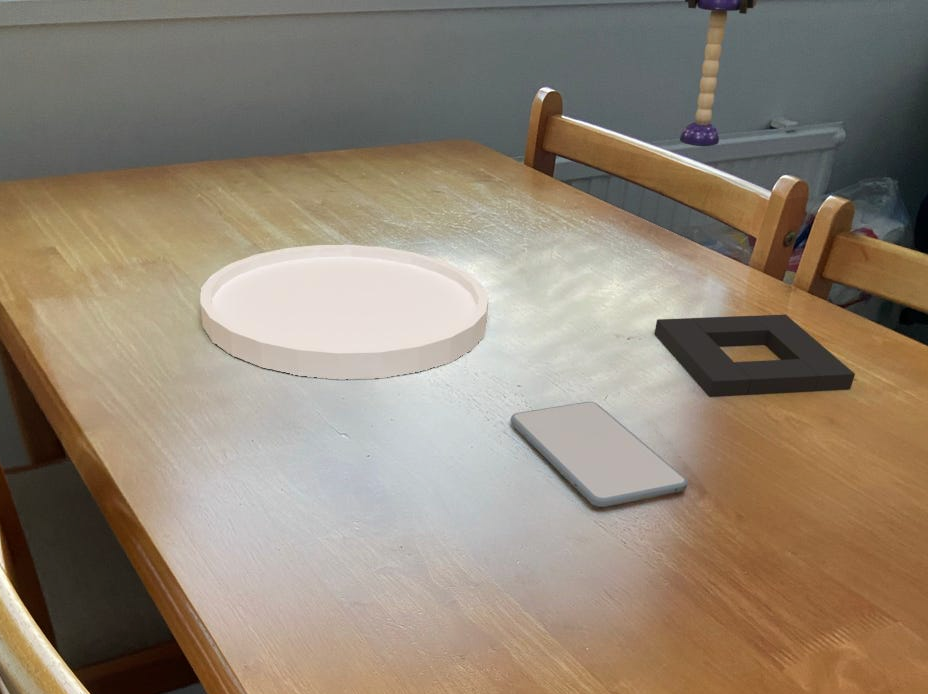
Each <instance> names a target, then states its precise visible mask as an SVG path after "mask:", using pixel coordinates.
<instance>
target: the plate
mask: <svg viewBox="0 0 928 694" xmlns="http://www.w3.org/2000/svg"><path fill="white" fill-rule="evenodd" d="M199 297H200V298H199V299H200V300H199V306H200V314H201V323H202V327H203V326H204V328H205V330H206V331H207V333H208V335H209V336H210V338H211V339H212V341H213V342H215V343H216V344H218V345H219V346H220V347H222V348H223V349H224V350H226V351H228V352H229V353H230V354H231V355H233V356H235V357H238V358H241V359H243V360H245V361H248V362H250V363H254V364H255V365H258V366H261V367H263V368H267V369H273V370H277V371H281V372H286V373H290V374H289V375H291V374H293V375H292V376H295V375H298V376H297V377H301V376H307V377H306V378H314V377H317V378H316V379H326V378H327V379H326V380H337V379H338V381H345V380H346V379H348V380H376V379H375V378H379V379H388V378H392V377H391V376H394V377H398V376H397V375H400V376H404V375H403V374H407V375H410V374H409V373H413V374H416V373H415V372H419V373H421V372H420V371H422V372H424V371H423V370H426V369H429V370H431V369H430V368H432V369H434V368H433V367H435V368H437V367H436V366H439V367H441V366H440V365H442V366H444V365H443V364H445V365H448V364H451V363H452V362H454V361H456V360H457V359H456V358H458V357H460V356H461V355H463V356H465V355H466V354H465V353H467V352H469V351H470V352H472V351H473V350H474V349H475V348H476V347H477V346H478V344H479V343H480V342H481V341H482V340H483V339H484V338H485V336H486V329H487V324H488V313H489V312H488V310H489V295H488V294H487V291H486V289H485V288H484V286H483V284H482V283H481V282H480V281H479V280H477V279H476V278H475V277H474V276H472V275H471V274H470V273H469V272H468V271H466V270H464V269H462V268H459V267H457V266H455V265H453V264H451V263H449V262H447V261H445V260H442V259H439V258H435V257H432V256H428V255H426V254H425V255H424V254H422V253H418V252H414V251H408V250H402V249H396V248H390V247H384V246H371V245H359V244H315V245H303V246H296V247H295V246H294V247H285V248H280V249H275V250H270V251H266V252H262V253H261V252H260V253H256V254H253V255H251V256H248V257H244V258H242V259H239V260H236V261H233V262H231V263H229V264H227V265H225V266H224V267H222V268H221V269H218V270H217V271H215V272H214V273H212V274H211V275H210V276H209V277H208V279H207V280H206V281H205V282H204V284H203V285H202V287H200V296H199ZM486 323H487V324H486ZM208 335H207V336H208ZM483 337H484V338H483ZM210 338H209V339H210ZM482 338H483V339H482ZM481 339H482V340H481ZM480 340H481V341H480ZM212 341H211V342H212ZM478 342H479V343H478ZM475 346H476V347H475ZM474 347H475V348H474ZM473 348H474V349H473ZM472 349H473V350H472ZM471 350H472V351H471ZM470 352H469V353H470ZM464 354H465V355H464ZM467 354H468V353H467ZM231 355H230V356H231ZM461 357H462V356H461ZM461 357H460V358H461ZM455 359H456V360H455ZM458 359H459V358H458ZM453 360H454V361H453ZM451 361H452V362H451ZM450 362H451V363H450ZM250 363H249V364H250ZM447 363H448V364H447ZM255 365H254V366H255ZM267 369H266V370H267ZM426 371H427V370H426ZM281 372H280V373H281ZM286 373H285V374H286ZM387 377H388V378H387ZM314 379H315V378H314ZM346 381H347V380H346Z"/></svg>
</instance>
